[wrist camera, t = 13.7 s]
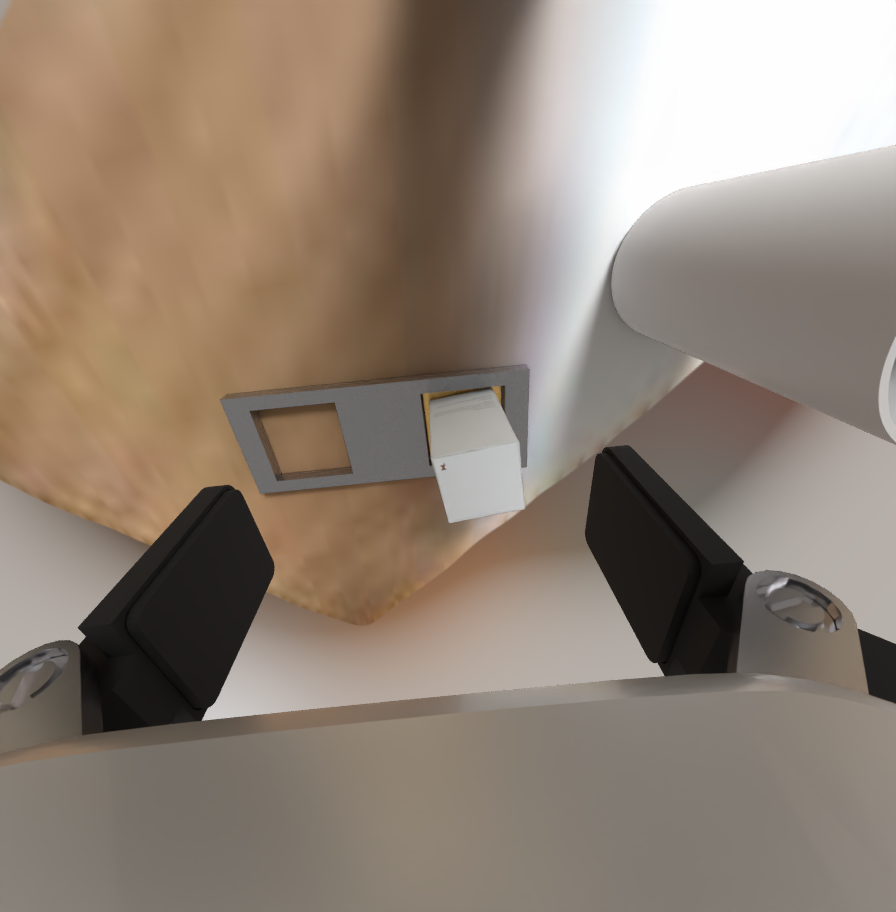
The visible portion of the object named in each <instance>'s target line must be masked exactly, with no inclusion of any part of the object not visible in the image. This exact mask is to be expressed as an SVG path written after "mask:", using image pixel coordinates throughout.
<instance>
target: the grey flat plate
mask: <svg viewBox="0 0 896 912" xmlns="http://www.w3.org/2000/svg"><path fill="white" fill-rule="evenodd" d="M501 386H503V411H504V413H505V415H506V417H507V419H508V421H509V424H510V426H511V428H512V430H513V432H514V434H515V436H516V437H517V439H518V441H519V443H520V456H521V468H523V467H527V437H528V402H529V368H528V367H527V365H516V366H506V367H496V368H486V369H476V370H466V371H456V372H446V373H436V374H426V375H416V376H406V377H396V378H386V379H376V380H366V381H356V382H346V383H335V384H325V385H315V386H305V387H295V388H285V389H275V390H265V391H255V392H245V393H235V394H227V395H226V396H224V397H223V398H222V399H220V401H221V404H222V406H223V408H224V411H225V413H226V415H227V418H228V420H229V422H230V425H231V427H232V429H233V432H234V434H235V436H236V439H237V441H238V443H239V446H240V448H241V450H242V452H243V455H244V457H245V459H246V462H247V464H248V466H249V469H250V471H251V473H252V476H253V478H254V480H255V483H256V485H257V487H258V490H259V492H260V494H262V493H272V492H282V491H292V490H302V489H312V488H322V487H332V486H342V485H353V484H363V483H373V482H383V481H393V480H403V479H413V478H423V477H433V476H435V472H434V468H433V465H432V461H431V459H429V452H428V444H427V437H426V429H425V421H424V414H423V406H422V398H421V394H423V400H424V408H425V416H426V424H427V432H428V440H429V447H430V412H429V401H430V400H434V399H439V398H444V397H448V396H453V395H458V394H462V393H467V392H472V391H477V390H482V389H487V388H492V389H493V391H494V393H495V395H496V397H497V399H498V400H499V402H500V405H501ZM334 402H335V406H336V410H337V413H338V417H339V421H340V425H341V429H342V433H343V436H344V440H345V444H346V448H347V452H348V455H349V459H350V463H351V467H345V468H335V469H325V470H315V471H305V472H295V473H285V474H282V473H281V471H280V468H279V466H278V463H277V460H276V458H275V455H274V452H273V450H272V447H271V445H270V442H269V439H268V437H267V434H266V431H265V429H264V426H263V424H262V421H261V418H260V416H259V413H258V410H263V409H273V408H284V407H294V406H304V405H314V404H324V403H334ZM430 455H431V449H430Z"/></svg>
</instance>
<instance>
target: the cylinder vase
mask: <svg viewBox="0 0 896 912" xmlns="http://www.w3.org/2000/svg"><path fill="white" fill-rule="evenodd" d="M611 289H612V297H613V302H614V305H615V308H616V310H617V312H618V314H619V316H620V317H621V319H622V320H623V321H624V322H625V323H626V324H627V325H628V326H629V327H630V328H631V329H633V330H635V331H636V332H638V333H640V334H643V335H645V336H647V337H650V338H652V339H654V340H656V341H659V342H661V343H663V344H666V345H668V346H670V347H673V348H675V349H677V350H679V351H682V352H684V353H686V354H689V355H691V356H693V357H695V358H698V359H700V360H702V361H705V362H707V363H709V364H712V365H714V366H716V367H718V368H721V369H723V370H725V371H728V372H730V373H732V374H735V375H737V376H739V377H742V378H744V379H746V380H748V381H751V382H753V383H755V384H757V385H760V386H762V387H764V388H767V389H769V390H771V391H774V392H776V393H778V394H780V395H783V396H785V397H787V398H789V399H792V400H794V401H796V402H799V403H801V404H803V405H806V406H808V407H810V408H813V409H815V410H817V411H820V412H822V413H824V414H826V415H829V416H831V417H833V418H835V419H838V420H840V421H842V422H845V423H847V424H849V425H851V426H854V427H856V428H858V429H861V430H863V431H865V432H867V433H870V434H872V435H874V436H877V437H879V438H881V439H884V440H886V441H888V442H890V443H893V444H895V445H896V145H893V146H888V147H883V148H878V149H873V150H869V151H864V152H859V153H854V154H849V155H844V156H839V157H834V158H829V159H824V160H819V161H814V162H809V163H805V164H800V165H795V166H790V167H785V168H780V169H775V170H770V171H765V172H760V173H755V174H750V175H745V176H741V177H736V178H731V179H726V180H721V181H716V182H711V183H706V184H701V185H696V186H691V187H687V188H684V189H680V190H678V191H675V192H673V193H671V194H669V195H667V196H665V197H664V198H662V199H660V200H659V201H658V202H656V203H655V204H654V205H652V206H651V207H650V208H649V209H648V210H646V211H645V212H644V213H643V214H642V215H641V216H640V218H639V219H638V220H637V221H636V222H635V223H634V225H633V226H632V227H631V229H630V230H629V232H628V233H627V235H626V237H625V238H624V240H623V242H622V244H621V246H620V248H619V251H618V253H617V256H616V259H615V262H614V266H613V271H612V280H611Z"/></svg>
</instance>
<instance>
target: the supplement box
mask: <svg viewBox="0 0 896 912" xmlns="http://www.w3.org/2000/svg"><path fill="white" fill-rule="evenodd" d="M429 412H430V449H431V461H432V465H433V468H434V472H435V476H436V479H437V483H438V486H439V490H440V493H441V497H442V500H443V504H444V507H445V510H446V514H447V518H448V521H449V523H454V522H459V521H464V520H469V519H474V518H480V517H485V516H490V515H495V514H501V513H506V512H511V511H517V510H522V509H525V504H524V493H523V481H522V468H521V456H520V443H519V441H518V439H517V437H516V436H515V434H514V432H513V430H512V428H511V426H510V424H509V421H508V419H507V417H506V415H505V413H504V411H503V409H502V407H501V405H500V402H499V400H498V399H497V397H496V395H495V393H494V391H493V389H492V388H487V389H482V390H477V391H472V392H467V393H462V394H458V395H453V396H448V397H444V398H439V399H434V400H430V401H429Z"/></svg>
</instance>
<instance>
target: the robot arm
mask: <svg viewBox="0 0 896 912" xmlns="http://www.w3.org/2000/svg"><path fill="white" fill-rule="evenodd" d="M585 537H586V541H587V544H588V546H589V548H590V550H591V552H592V553H593V555H594V557H595V559H596V561H597V563H598V564H599V567H600V569H601V570H602V572H603V574H604V576H605V578H606V580H607V582H608V584H609V586H610V587H611V589H612V591H613V593H614V595H615V597H616V599H617V601H618V603H619V604H620V606H621V608H622V610H623V612H624V614H625V616H626V618H627V620H628V621H629V623H630V625H631V627H632V629H633V631H634V633H635V635H636V637H637V638H638V640H639V642H640V644H641V646H642V648H643V650H644V652H645V653H646V655H647V657H648V659H649V660H650V661H651V662H653V663H658V665H659V666H660V668H661V670H662V672H663V674H664V676H663V677H650V678H638V679H623V680H611V681H599V682H588V683H579V684H578V683H577V684H568V685H557V686H546V687H535V688H524V689H514V690H503V691H493V692H482V693H471V694H461V695H452V696H441V697H431V698H421V699H411V700H400V701H390V702H380V703H371V704H361V705H351V706H340V707H331V708H320V709H310V710H301V711H291V712H282V713H272V714H263V715H253V716H244V717H234V718H225V719H216V720H207V721H202V719H203V717H204V714H205V712H206V710H207V708H208V707H210V706H212V705H213V704H214V703H215V701H216V699H217V698H218V696H219V694H220V691H221V688H222V687H223V685H224V683H225V680H226V678H227V676H228V674H229V672H230V669H231V667H232V665H233V663H234V661H235V658H236V656H237V654H238V652H239V650H240V648H241V645H242V643H243V641H244V639H245V637H246V634H247V632H248V630H249V628H250V626H251V623H252V621H253V619H254V617H255V615H256V613H257V610H258V608H259V606H260V604H261V602H262V599H263V597H264V595H265V593H266V591H267V588H268V586H269V584H270V582H271V580H272V578H273V575H274V562H273V560H272V557H271V555H270V553H269V551H268V549H267V547H266V545H265V542H264V540H263V538H262V536H261V534H260V532H259V529H258V527H257V525H256V523H255V521H254V519H253V516H252V514H251V512H250V510H249V508H248V506H247V504H246V501H245V499H244V497H243V495H242V493H241V492H240V491H239V490H235V489H234V488H233V487H232V486H230V485H223V486H213V487H206V488H204V489H202V490H201V491H200V492H199V493H198V495H197V496H196V497H195V498H194V499H193V500H192V501H191V502H190V503H189V505H188V506H187V507H186V508H185V509H184V510H183V511H182V512H181V513H180V515H179V516H178V517H177V518H176V519H175V520H174V521H173V522H172V523H171V525H170V526H169V527H168V528H167V529H166V530H165V531H164V532H163V533H162V535H161V536H160V537H159V538H158V539H157V540H156V541H155V542H154V543H153V545H152V546H151V547H150V548H149V549H148V550H147V551H146V552H145V553H144V555H143V556H142V557H141V558H140V559H139V560H138V561H137V562H136V563H135V565H134V566H133V567H132V568H131V569H130V570H129V571H128V572H127V573H126V575H125V576H124V577H123V578H122V579H121V580H120V581H119V582H118V583H117V585H116V586H115V587H114V588H113V589H112V590H111V591H110V592H109V593H108V594H107V596H106V597H105V598H104V599H103V600H102V601H101V602H100V603H99V605H98V606H97V607H96V608H95V609H94V610H93V611H92V612H91V614H89V616H88V617H87V618H86V619H85V620H84V621H83V622H82V623H81V624H80V626H79V627H78V629H79V630H80V631H81V632H82V633H83V634H84V635H85V636H86V637H85V639H84V640H83V641H82V642H81V643H80V645H78V644H77V643H75V642H73V641H70V640H59V641H55V642H51V643H48V644H44V645H42V646H40V647H37V648H35V649H33V650H31V651H28V652H27V653H25V654H23V655H22V656H20V657H18V658H16V659H15V660H13V661H12V662H10V663H9V664H7V665H6V666H5V667H4V668H2V669H1V670H0V912H896V644H894V643H892V642H889V641H887V640H884V639H882V638H880V637H877V636H875V635H872V634H870V633H867V632H865V631H862V630H860V629H858V628H857V623H856V621H855V619H854V616H853V614H852V612H851V611H850V610H849V609H848V608H847V606H846V605H845V604H844V603H843V602H842V601H841V600H840V599H839V598H837V597H836V596H835V595H833V594H832V593H831V592H830V591H828V590H827V589H825V588H823V587H822V586H820V585H818V584H816V583H815V582H813V581H810V580H808V579H805V578H803V577H800V576H798V575H795V574H791V573H787V572H782V571H773V570H765V571H759V572H755V573H754V574H753V573H751V572H750V570H749V569H748V568H747V567H746V566H745V565H744V564H743V562H744V561H743V560H742V559H741V558H740V557H739V556H738V555H737V554H736V553H735V552H734V551H733V550H732V549H731V548H730V547H729V546H728V545H727V544H726V543H725V542H724V541H723V540H722V539H721V538H720V537H719V536H718V535H717V534H716V533H715V532H714V531H713V530H712V529H711V528H710V527H709V526H708V525H707V523H706V522H704V520H703V519H702V518H700V516H699V515H698V514H696V512H695V511H694V510H693V509H692V508H691V507H690V506H689V505H688V504H687V503H686V502H685V501H684V500H683V499H682V498H681V497H680V496H679V495H678V494H677V493H676V492H675V491H674V490H673V489H672V488H671V487H670V486H669V485H668V484H667V483H666V482H665V481H664V480H663V479H662V478H661V477H660V476H659V475H658V474H657V473H656V472H655V471H654V470H653V469H652V468H651V467H650V466H649V465H648V464H647V463H646V462H645V461H644V460H643V459H642V458H641V457H640V456H639V455H638V454H637V453H636V452H635V451H634V450H633V449H632V448H631V447H630V446H628V445H625V446H615V447H606V448H604V449H603V451H602V453H600V454H597V456H596V459H595V465H594V472H593V480H592V486H591V494H590V500H589V508H588V515H587V522H586V529H585Z"/></svg>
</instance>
